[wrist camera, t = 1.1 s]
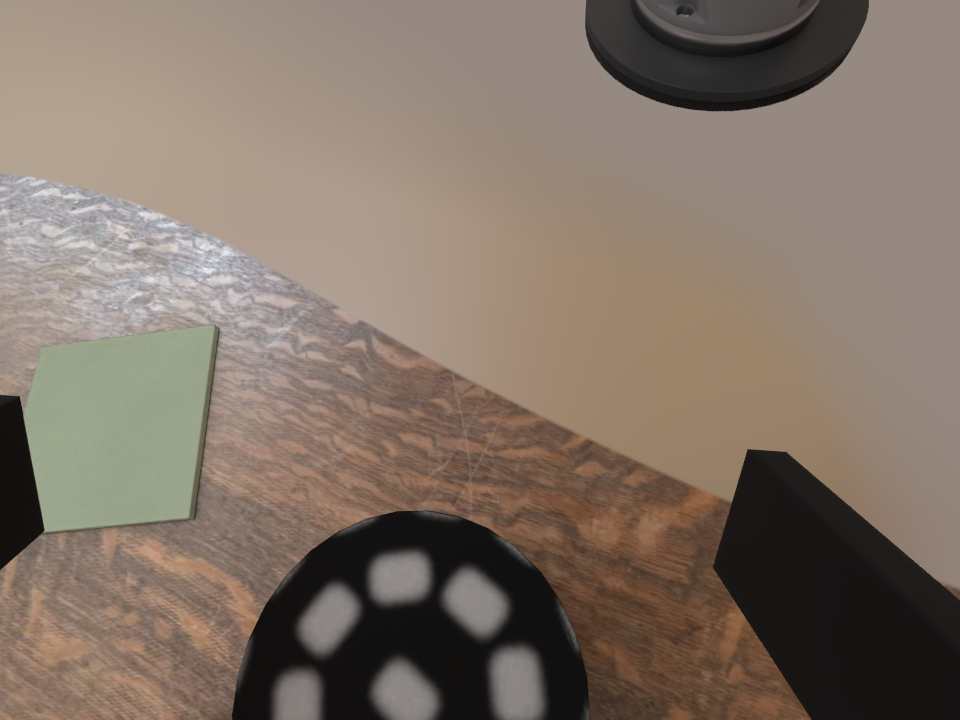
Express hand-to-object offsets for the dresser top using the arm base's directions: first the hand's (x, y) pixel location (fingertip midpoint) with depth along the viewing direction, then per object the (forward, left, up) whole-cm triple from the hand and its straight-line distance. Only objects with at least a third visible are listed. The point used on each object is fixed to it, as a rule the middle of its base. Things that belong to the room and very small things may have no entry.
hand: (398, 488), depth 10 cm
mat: (-11, -27, -24) cm, 38 cm away
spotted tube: (+4, -1, -24) cm, 25 cm away
